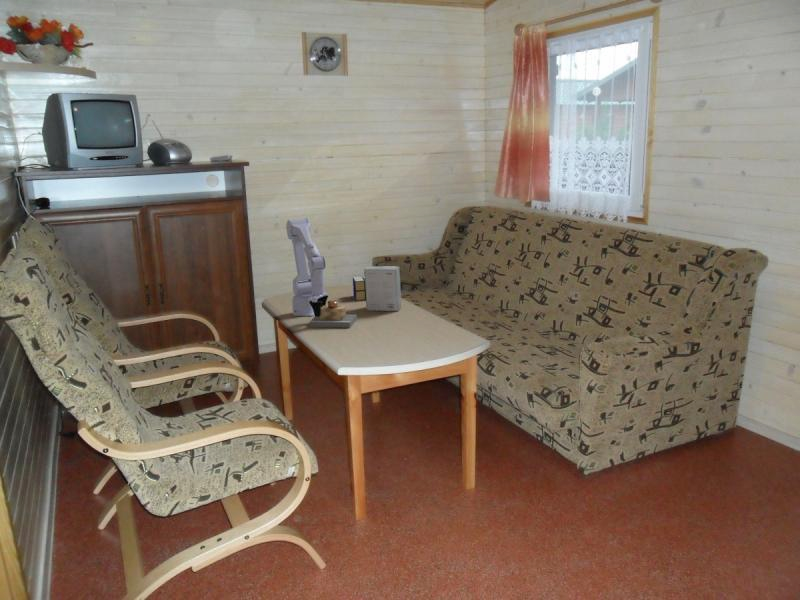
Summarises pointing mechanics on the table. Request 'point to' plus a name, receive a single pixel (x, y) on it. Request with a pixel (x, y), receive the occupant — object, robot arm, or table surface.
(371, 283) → the hard drive box
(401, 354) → the table surface
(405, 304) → the table surface
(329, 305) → the brown rounded piece
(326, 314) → the tan rectangular block
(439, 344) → the table surface
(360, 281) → the puzzle cube
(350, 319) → the loading dock
